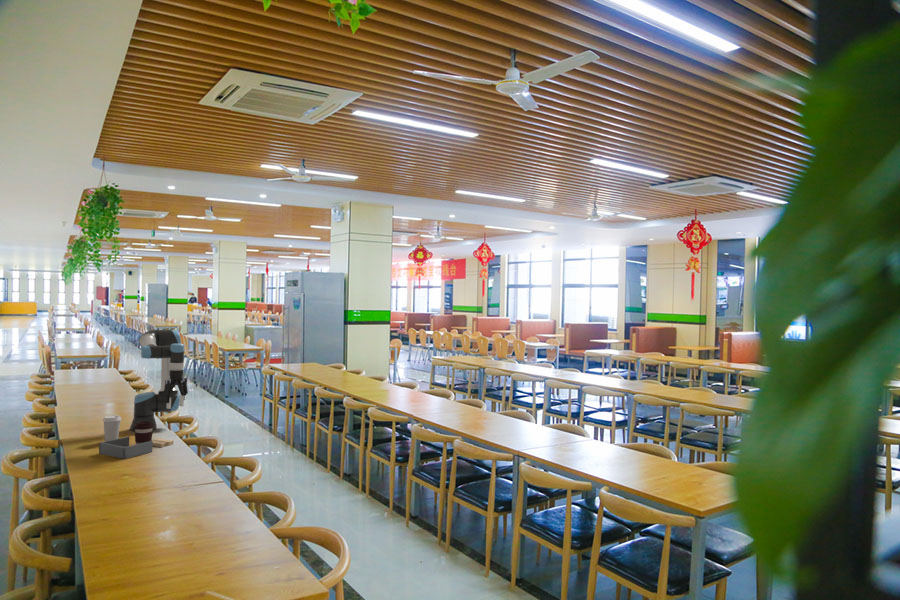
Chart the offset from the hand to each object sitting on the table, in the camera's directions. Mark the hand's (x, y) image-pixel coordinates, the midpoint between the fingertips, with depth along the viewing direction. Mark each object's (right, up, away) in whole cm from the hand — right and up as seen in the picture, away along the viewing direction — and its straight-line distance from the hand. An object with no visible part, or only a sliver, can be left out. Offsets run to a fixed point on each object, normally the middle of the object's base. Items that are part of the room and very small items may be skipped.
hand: (175, 407), depth 345 cm
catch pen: (-14, -20, -28) cm, 37 cm away
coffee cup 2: (-9, -20, -19) cm, 29 cm away
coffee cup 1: (-34, -19, -8) cm, 40 cm away
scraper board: (-5, -21, -9) cm, 23 cm away
